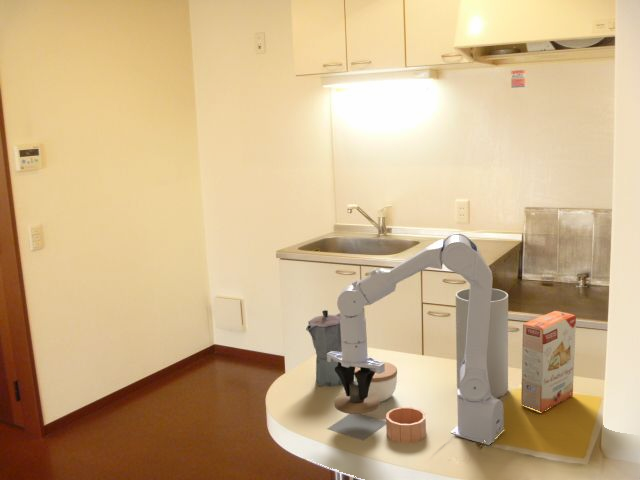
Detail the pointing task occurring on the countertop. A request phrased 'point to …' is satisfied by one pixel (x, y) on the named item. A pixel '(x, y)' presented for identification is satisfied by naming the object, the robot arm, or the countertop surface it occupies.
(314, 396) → the countertop surface
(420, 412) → the planter
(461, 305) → the cylinder vase
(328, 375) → the moka pot
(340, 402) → the lid
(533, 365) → the cracker box
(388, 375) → the lidded jar
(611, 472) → the countertop surface
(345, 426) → the mat
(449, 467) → the countertop surface
